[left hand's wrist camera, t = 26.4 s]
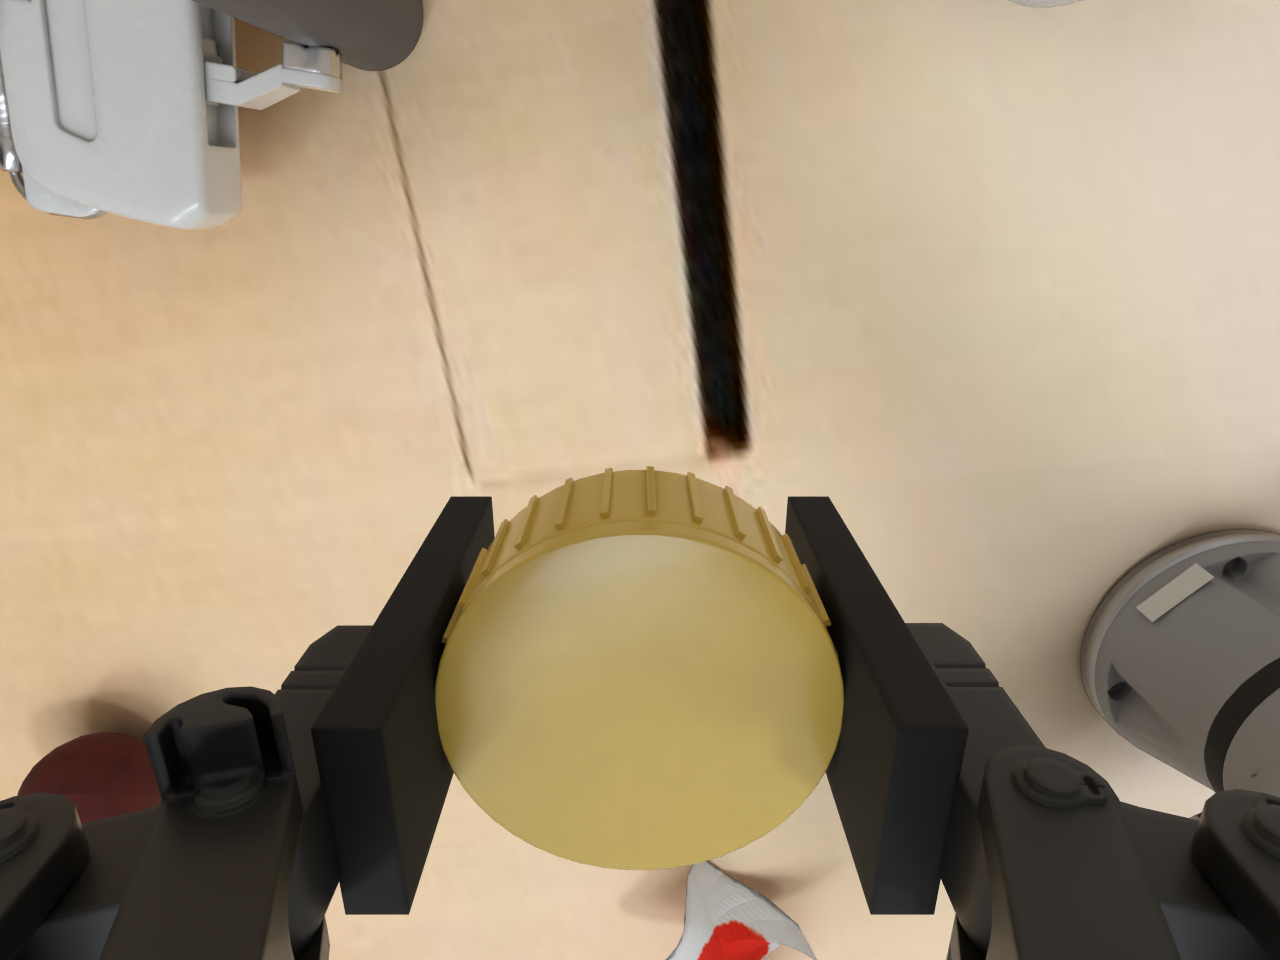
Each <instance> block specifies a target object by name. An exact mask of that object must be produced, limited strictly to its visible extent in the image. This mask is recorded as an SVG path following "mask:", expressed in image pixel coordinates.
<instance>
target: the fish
mask: <svg viewBox="0 0 1280 960" xmlns="http://www.w3.org/2000/svg"><path fill="white" fill-rule="evenodd" d="M781 944H782V945H785V946H788V947H791V948H793V949H796V950H798V951H800V952H802V953H804V954H806V955H807V956H809V957H811V958H813V959H814V960H817V959H816V957H815V955H814V953H813V952H812V950H811V948H810V946H809V944H808V942H807V941H806V939H805V937H804V935H803V933H802V931H801V930H800V928H799V926H798V924H797V923H796V922H794V921H793V920H792V919H791V918H790V917H789V916H787V915H786V914H785V913H784V912H783V911H782V910H780V909H779V908H778V907H777V906H776V905H775V904H773V903H772V902H771V901H770V900H769V899H768V898H766V897H765V896H763V895H761V894H760V893H758V892H756V891H755V890H753V889H751V888H750V887H748V886H746V885H744V884H743V883H741V882H739V881H737V880H735V879H734V878H732V877H730V876H728V875H726V874H725V873H723V872H722V871H720V870H719V869H718V868H716V867H715V866H714V865H712V864H710V863H708V862H706V861H704V862H701V863H696V864H693V865H692V867H691V869H690V871H689V873H688V878H687V890H686V908H685V921H684V933H683V935H682V937H681V939H680V941H679V944H678V946H677V947H676V948H675V950H674V951H673V952H672V953H671V954H670V956H669V957H668V958H667V959H666V960H764V958H765V957H766V956H767V954H769V953H770V952H771V951H773V950H774V949H776V948H777V947H778V946H780V945H781Z"/></svg>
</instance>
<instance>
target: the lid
mask: <svg viewBox="0 0 1280 960" xmlns="http://www.w3.org/2000/svg"><path fill="white" fill-rule="evenodd" d="M830 625H831V622H830V620H829V617H828V615H827V613H826V611H825V608H824V606H823V604H822V601H821V599H820V597H819V594H818V592H817V590H816V588H815V585H814V583H813V581H812V578H811V576H810V574H809V572H808V569H807V567H806V565H805V564H803V565H801V563H800V561H799V558H798V556H797V553H796V551H795V549H794V546H793V544H792V542H791V539H790V537H789V536H788V535H787V534H784V535H783V536H782V535H781V534H780V533H779V531H778V530H777V529H776V527H774V526H773V525H772V524H771V523H770V522H769V521H768V519H767V516H766V513H765V511H764V510H763V509H762V508H761V507H759V508H758V509H757V510H756V509H755V508H753V507H752V506H751V505H749V504H748V503H747V502H745V501H744V500H742V499H741V498H739V497H737V496H736V495H734V493H733V490H732V488H730V487H728V486H726V487H725V489H723V488H721V487H718V486H716V485H713V484H711V483H708V482H705V481H703V480H700V479H697V478H695V474H694V473H690V472H688V473H687V476H685V475H681V474H677V473H671V472H663V471H654V467H650V466H647V469H646V470H625V471H616V472H613V470H612V468H609V469H605V473H602V474H598V475H594V476H590V477H586V478H582V479H579V480H576V481H573V479H572V478H570V479H567V480H566V481H565V485H563V486H561V487H558V488H556V489H554V490H553V491H551V492H549V493H547V494H545V495H544V496H542V497H540V498H538V497H537V496H536V495H535V496H533V497H532V498H531V499H530V501H529V504H528V506H527V507H526V508H524V509H523V510H522V511H520V512H519V513H518V514H517V515H516V516H515V517H514V518H513V519H512V520H511V521H510V522H509V521H508V520H506V519H505V520H504V521H503V522H502V523H501V525H500V528H499V530H498V533H497V535H496V537H495V539H494V540H493V542H492V543H491V544H490V546H489V548H488V550H486V549H484V548H482V549H481V551H480V553H479V555H478V558H477V560H476V562H475V564H474V567H473V569H472V571H471V574H470V576H469V578H468V580H467V583H466V585H465V587H464V590H463V592H462V594H461V597H460V599H459V601H458V603H457V606H456V608H455V610H454V613H453V615H452V617H451V620H450V622H449V624H448V626H447V629H446V631H445V633H444V636H443V639H442V643H445V644H446V645H445V648H444V651H443V653H442V656H441V658H440V662H439V667H438V672H437V677H436V682H435V704H436V713H437V721H438V730H439V736H440V740H441V743H442V747H443V750H444V752H445V755H446V757H447V759H448V761H449V764H450V766H451V768H452V770H453V772H454V773H455V775H456V776H457V778H458V780H459V781H460V783H461V784H462V786H463V788H464V789H465V790H466V791H467V793H468V794H469V795H470V796H471V797H472V799H473V800H474V801H475V802H476V803H477V805H478V806H479V807H480V808H481V809H483V810H484V811H485V812H486V813H487V814H488V815H489V816H490V817H491V818H492V819H493V820H494V821H496V822H497V823H498V824H500V825H501V826H503V827H504V828H505V829H507V830H508V831H509V832H511V833H512V834H514V835H515V836H517V837H519V838H521V839H522V840H524V841H526V842H528V843H529V844H531V845H533V846H535V847H537V848H539V849H542V850H544V851H546V852H549V853H551V854H553V855H556V856H559V857H562V858H565V859H569V860H572V861H575V862H578V863H583V864H588V865H593V866H598V867H603V868H612V869H622V870H657V869H667V868H676V867H681V866H686V865H691V864H696V863H701V862H704V861H707V860H710V859H714V858H717V857H720V856H723V855H725V854H728V853H730V852H732V851H735V850H737V849H740V848H742V847H744V846H746V845H748V844H750V843H751V842H753V841H755V840H757V839H758V838H760V837H762V836H764V835H765V834H767V833H768V832H770V831H771V830H772V829H774V828H775V827H776V826H778V825H779V824H781V823H782V822H783V821H785V820H786V819H787V818H788V817H789V816H790V815H791V814H792V813H793V812H794V811H795V810H796V809H797V808H799V807H800V806H801V804H802V803H803V802H804V801H805V800H806V798H807V797H808V796H809V795H810V794H811V793H812V791H813V790H814V789H815V788H816V786H817V784H818V783H819V781H820V780H821V778H822V776H823V775H824V773H825V772H826V770H827V768H828V766H829V763H830V761H831V759H832V757H833V754H834V752H835V750H836V747H837V743H838V740H839V736H840V732H841V725H842V716H843V708H844V682H843V677H842V672H841V667H840V662H839V659H838V654H837V652H836V649H835V647H834V644H833V642H832V640H831V637H830V635H829V633H828V630H827V628H826V627H827V626H830Z"/></svg>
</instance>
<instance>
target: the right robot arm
mask: <svg viewBox="0 0 1280 960" xmlns="http://www.w3.org/2000/svg"><path fill="white" fill-rule="evenodd" d="M301 87H302V88H309V89H315V90H322V91H328V92H334V93H342V53H340V52H335V50H333V49H329V48H325V47H320V46H309V47H307V46H304V45H302V44H298V43H295V42H289V41H283V40H282V64H279V65H276V66H274V67H272V68H270V69H268V70H266V71H263V72H261V73H259V74H258V73H256V72H252V71H249V70H245V69H241V68H238V67H236V45H235V21H234V18H233V17H231V16H228V15H226V14H223V13H221V12H218V11H216V10H214V9H211V8H209V7H206V6H204V5H201V4H199V3H196V2H194V1H192V0H0V169H1V170H3V171H9V174H10V177H11V179H12V182H13V184H14V186H15V187H16V189H17V190H18V191H19V193H20V194H21V195H22V197H23V198H24V199H25V200H27V201H28V203H29V204H30V205H31V206H32V207H34V208H36V209H38V210H41V211H43V212H46V213H49V214H52V215H58V216H65V217H72V218H79V219H94V218H98V217H100V216H103V215H104V214H106V213H107V212H109V213H112V214H116V215H119V216H123V217H127V218H131V219H134V220H139V221H143V222H147V223H152V224H157V225H162V226H167V227H172V228H179V229H192V230H196V229H210V228H216V227H220V226H222V225H224V224H225V223H227V222H228V221H230V220H231V219H232V218H234V217H235V216H236V215H237V214H239V213H240V211H241V209H242V188H241V164H240V141H239V117H238V107H245V108H252V109H258V110H263V109H265V108H267V107H269V106H271V105H273V104H275V103H277V102H279V101H281V100H283V99H285V98H287V97H289V96H291V95H293V94H295V93H297V92H299V91H301ZM21 173H23V177H22V174H21Z"/></svg>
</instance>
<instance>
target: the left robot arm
mask: <svg viewBox="0 0 1280 960" xmlns="http://www.w3.org/2000/svg"><path fill="white" fill-rule="evenodd" d="M785 534H787V535H788V536H789V537H790V539H791V542H792V544H793V546H794V549H795V551H796V553H797V556H798V558H799V561H800V563H801V565H803V564H805V565H806V567H807V569H808V572H809V574H810V576H811V578H812V581H813V583H814V585H815V588H816V590H817V592H818V594H819V597H820V599H821V601H822V604H823V606H824V608H825V611H826V613H827V615H828V617H829V620H830V622H831V625H830V626H827V627H826V628H827V630H828V633H829V635H830V637H831V640H832V642H833V644H834V647H835V649H836V652H837V654H838V659H839V662H840V667H841V672H842V677H843V682H844V708H843V716H842V725H841V732H840V736H839V740H838V743H837V747H836V750H835V752H834V754H833V757H832V759H831V761H830V763H829V766H828V768H827V770H826V774H827V778H828V781H829V784H830V787H831V790H832V793H833V797H834V800H835V803H836V806H837V809H838V812H839V816H840V819H841V822H842V825H843V828H844V831H845V835H846V838H847V841H848V844H849V847H850V850H851V854H852V857H853V860H854V863H855V866H856V869H857V872H858V876H859V879H860V882H861V885H862V888H863V891H864V895H865V898H866V901H867V904H868V907H869V910H870V914H934V911H935V906H936V901H937V895H938V890H939V885H940V879H941V880H942V882H943V885H944V887H945V889H946V892H947V894H948V896H949V898H950V901H951V903H952V905H953V908H954V910H955V912H956V915H955V920H954V924H953V929H952V934H951V939H950V944H949V949H948V954H947V959H946V960H1280V535H1278V534H1274V533H1270V532H1265V531H1259V530H1245V529H1241V530H1225V531H1217V532H1212V533H1207V534H1203V535H1199V536H1196V537H1192V538H1189V539H1187V540H1184V541H1181V542H1179V543H1176V544H1174V545H1172V546H1170V547H1168V548H1165V549H1163V550H1162V551H1160V552H1158V553H1156V554H1154V555H1153V556H1151V557H1150V558H1148V559H1147V560H1145V561H1144V562H1142V563H1141V564H1139V565H1138V566H1137V567H1135V568H1134V569H1133V570H1132V571H1130V572H1129V573H1128V574H1127V575H1126V576H1125V577H1124V578H1122V579H1121V580H1120V581H1119V582H1118V583H1117V585H1116V586H1115V587H1114V588H1113V589H1112V590H1111V591H1110V592H1109V594H1108V595H1107V596H1106V597H1105V599H1104V600H1103V601H1102V603H1101V604H1100V606H1099V607H1098V609H1097V610H1096V612H1095V614H1094V616H1093V618H1092V620H1091V622H1090V624H1089V626H1088V629H1087V631H1086V634H1085V638H1084V641H1083V646H1082V651H1081V675H1082V681H1083V684H1084V687H1085V690H1086V693H1087V695H1088V697H1089V699H1090V701H1091V702H1092V704H1093V705H1094V707H1095V708H1096V709H1097V710H1098V712H1099V713H1100V714H1101V715H1102V716H1103V718H1104V719H1105V720H1106V721H1107V722H1108V723H1109V724H1110V726H1111V727H1112V728H1113V729H1114V730H1115V731H1116V732H1117V733H1118V734H1119V735H1121V736H1122V737H1123V738H1125V739H1126V740H1128V741H1129V742H1130V743H1131V744H1133V745H1134V746H1136V747H1137V748H1139V749H1141V750H1142V751H1144V752H1146V753H1148V754H1150V755H1151V756H1153V757H1155V758H1157V759H1158V760H1160V761H1162V762H1164V763H1166V764H1167V765H1169V766H1171V767H1173V768H1174V769H1176V770H1178V771H1180V772H1182V773H1183V774H1185V775H1187V776H1189V777H1190V778H1192V779H1194V780H1196V781H1198V782H1199V783H1201V784H1203V785H1205V786H1206V787H1208V788H1210V789H1212V790H1213V791H1214V792H1215V794H1214V795H1213V796H1212V797H1210V798H1209V799H1208V800H1207V801H1206V802H1205V805H1204V808H1203V811H1202V812H1201V813H1199V814H1197V815H1194V816H1193V817H1191V818H1185V817H1181V816H1176V815H1172V814H1168V813H1163V812H1159V811H1154V810H1150V809H1145V808H1141V807H1137V806H1134V805H1130V804H1127V803H1124V802H1120V801H1119V799H1118V797H1117V796H1116V794H1115V793H1114V791H1113V790H1112V788H1111V787H1110V785H1109V784H1108V782H1107V781H1106V780H1105V779H1104V778H1102V777H1101V776H1100V775H1099V774H1097V773H1096V772H1095V771H1094V770H1093V769H1091V768H1090V767H1089V766H1088V765H1086V764H1084V763H1082V762H1080V761H1078V760H1076V759H1074V758H1072V757H1070V756H1068V755H1066V754H1064V753H1061V752H1057V751H1054V750H1050V749H1047V748H1045V746H1044V745H1043V743H1042V742H1041V741H1040V739H1039V738H1038V737H1037V735H1036V734H1035V732H1034V731H1033V730H1032V728H1031V727H1030V725H1029V724H1028V723H1027V721H1026V720H1025V719H1024V717H1023V716H1022V714H1021V713H1020V712H1019V710H1018V709H1017V707H1016V706H1015V705H1014V703H1013V702H1012V700H1011V699H1010V698H1009V696H1008V695H1007V694H1006V692H1005V691H1004V689H1003V688H1002V687H999V685H998V683H999V682H998V681H997V680H996V678H995V677H994V675H993V674H992V673H991V671H990V670H989V669H986V667H985V663H984V662H983V660H982V659H981V657H980V656H979V655H978V653H977V652H976V650H975V649H974V648H973V646H972V645H971V644H970V642H969V641H967V640H966V639H964V638H963V637H961V636H960V635H958V634H957V633H956V632H954V631H953V630H951V629H950V628H948V627H947V626H946V625H944V624H943V623H905V622H904V621H903V619H902V617H901V616H900V614H899V612H898V611H897V609H896V608H895V606H894V604H893V603H892V601H891V599H890V598H889V596H888V594H887V593H886V591H885V589H884V588H883V586H882V584H881V583H880V581H879V579H878V578H877V576H876V574H875V573H874V571H873V569H872V568H871V566H870V565H869V563H868V561H867V560H866V558H865V556H864V555H863V553H862V551H861V550H860V548H859V546H858V545H857V543H856V541H855V540H854V538H853V536H852V535H851V533H850V531H849V530H848V528H847V526H846V525H845V523H844V521H843V520H842V518H841V517H840V515H839V513H838V512H837V510H836V508H835V507H834V505H833V503H832V502H831V500H830V498H829V497H788V504H787V517H786V530H785ZM494 539H495V536H494V523H493V510H492V497H451V498H450V499H449V501H448V503H447V504H446V506H445V507H444V509H443V511H442V512H441V514H440V516H439V517H438V519H437V521H436V522H435V524H434V526H433V527H432V529H431V531H430V532H429V534H428V536H427V537H426V539H425V541H424V542H423V544H422V546H421V547H420V549H419V550H418V552H417V554H416V555H415V557H414V559H413V560H412V562H411V564H410V565H409V567H408V569H407V570H406V572H405V574H404V575H403V577H402V579H401V580H400V582H399V584H398V585H397V587H396V589H395V590H394V592H393V593H392V595H391V597H390V598H389V600H388V602H387V603H386V605H385V607H384V608H383V610H382V612H381V613H380V615H379V617H378V618H377V620H376V622H375V623H374V625H373V626H336V627H335V628H334V629H332V630H331V631H329V632H328V633H326V634H325V635H323V636H322V637H321V638H319V639H318V640H316V641H315V642H313V643H312V644H311V645H310V646H309V647H308V649H307V650H306V652H305V653H304V654H303V656H302V657H301V659H300V660H299V661H298V663H297V664H296V665H295V670H294V671H291V672H290V674H289V675H288V677H287V678H286V679H285V681H284V682H283V684H282V685H281V686H282V687H281V690H278V691H277V692H276V693H275V695H274V694H273V693H272V692H271V691H268V690H264V689H259V688H255V687H234V688H225V689H221V690H217V691H213V692H209V693H205V694H201V695H199V696H197V697H195V698H192V699H190V700H188V701H186V702H183V703H181V704H179V705H177V706H175V707H174V708H173V709H171V710H170V711H168V712H167V713H166V714H164V715H163V716H161V717H160V718H159V719H157V720H156V721H155V722H154V724H153V725H152V726H151V728H150V729H149V730H148V731H147V733H146V734H145V735H144V740H145V744H146V747H147V751H148V754H149V758H150V761H151V765H152V768H153V772H154V775H155V779H156V782H157V786H158V789H159V793H160V796H161V802H160V805H157V806H154V807H150V808H147V809H143V810H140V811H135V812H131V813H127V814H122V815H118V816H113V817H109V818H105V819H100V820H96V821H91V822H87V823H83V824H81V822H80V819H79V816H78V813H77V810H76V807H75V804H74V803H72V802H71V801H70V800H68V799H67V798H66V797H65V796H63V795H59V794H51V793H43V792H40V793H34V794H27V795H21V796H14V797H11V798H9V799H6V800H2V801H0V960H329V949H330V943H329V936H328V930H327V924H326V920H325V913H326V910H327V908H328V906H329V904H330V901H331V899H332V897H333V894H334V892H335V890H336V887H337V885H338V883H339V882H340V887H341V893H342V898H343V903H344V908H345V914H346V915H348V914H409V912H410V909H411V906H412V903H413V900H414V896H415V893H416V890H417V887H418V884H419V881H420V877H421V874H422V871H423V868H424V865H425V862H426V858H427V855H428V852H429V849H430V846H431V843H432V839H433V836H434V833H435V830H436V827H437V824H438V820H439V817H440V814H441V811H442V808H443V805H444V801H445V798H446V795H447V792H448V789H449V786H450V783H451V779H452V776H453V773H454V772H453V770H452V768H451V766H450V764H449V761H448V759H447V757H446V755H445V752H444V750H443V747H442V743H441V740H440V736H439V730H438V721H437V713H436V704H435V682H436V677H437V672H438V667H439V662H440V658H441V656H442V653H443V651H444V648H445V645H446V644H445V643H442V639H443V636H444V633H445V631H446V629H447V626H448V624H449V622H450V620H451V617H452V615H453V613H454V610H455V608H456V606H457V603H458V601H459V599H460V597H461V594H462V592H463V590H464V587H465V585H466V583H467V580H468V578H469V576H470V574H471V571H472V569H473V567H474V564H475V562H476V560H477V558H478V555H479V553H480V551H481V549H482V548H484V549H486V550H488V548H489V546H490V544H491V543H492V542H493V540H494Z"/></svg>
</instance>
